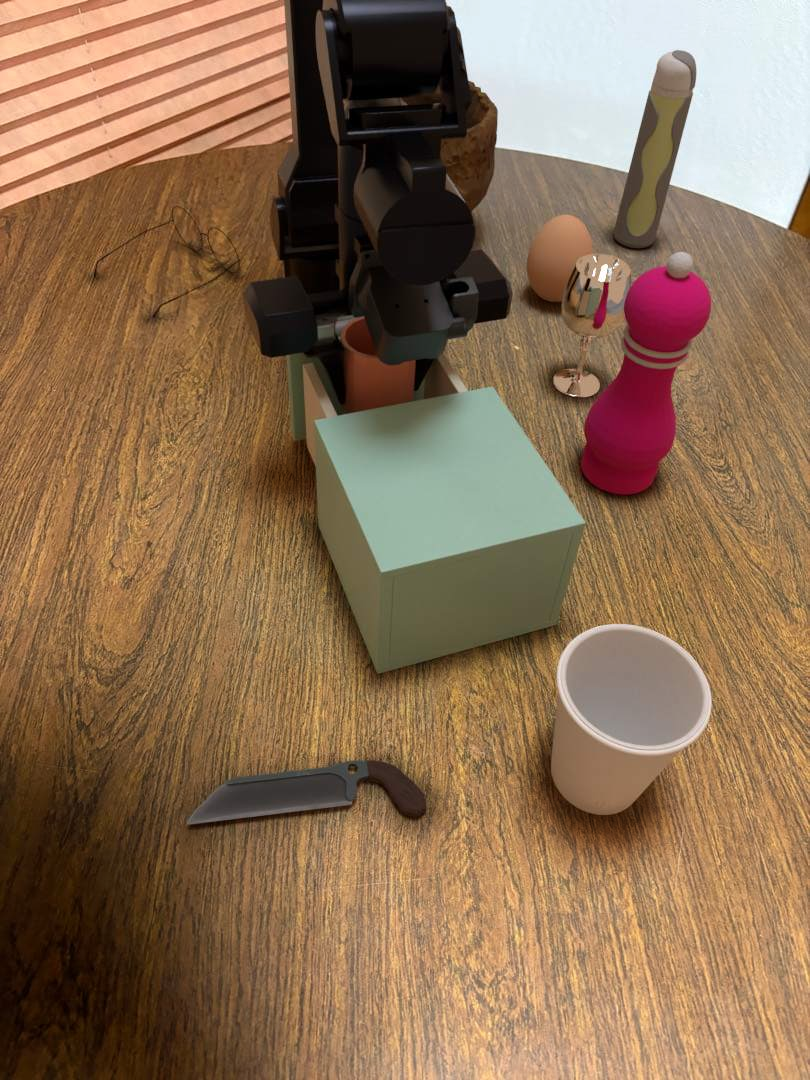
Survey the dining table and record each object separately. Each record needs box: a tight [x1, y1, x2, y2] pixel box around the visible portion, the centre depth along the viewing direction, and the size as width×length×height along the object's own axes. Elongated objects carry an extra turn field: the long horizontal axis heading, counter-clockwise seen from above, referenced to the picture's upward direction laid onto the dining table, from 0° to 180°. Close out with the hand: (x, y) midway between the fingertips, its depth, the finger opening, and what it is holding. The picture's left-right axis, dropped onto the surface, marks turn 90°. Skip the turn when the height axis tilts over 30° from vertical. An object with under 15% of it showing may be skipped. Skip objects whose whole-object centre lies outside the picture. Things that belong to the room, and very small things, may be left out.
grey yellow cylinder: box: [613, 49, 697, 249], centre depth 93 cm, size 5×5×20 cm
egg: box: [526, 214, 594, 303], centre depth 88 cm, size 7×7×9 cm
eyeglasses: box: [93, 205, 241, 319], centre depth 89 cm, size 11×13×5 cm
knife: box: [186, 759, 427, 826], centre depth 51 cm, size 14×4×1 cm, turn 99°
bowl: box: [401, 80, 499, 213], centre depth 94 cm, size 19×19×15 cm
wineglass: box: [552, 253, 632, 399], centre depth 77 cm, size 6×6×12 cm
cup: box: [340, 317, 416, 414], centre depth 66 cm, size 6×6×6 cm
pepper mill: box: [580, 251, 712, 496], centre depth 66 cm, size 7×7×20 cm
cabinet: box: [314, 386, 587, 675], centre depth 60 cm, size 15×14×11 cm
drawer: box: [285, 318, 469, 468], centre depth 69 cm, size 18×12×9 cm
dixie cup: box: [550, 623, 713, 816], centre depth 50 cm, size 8×8×10 cm
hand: (377, 394), depth 68 cm, fingers closed on cup, 6 cm apart
